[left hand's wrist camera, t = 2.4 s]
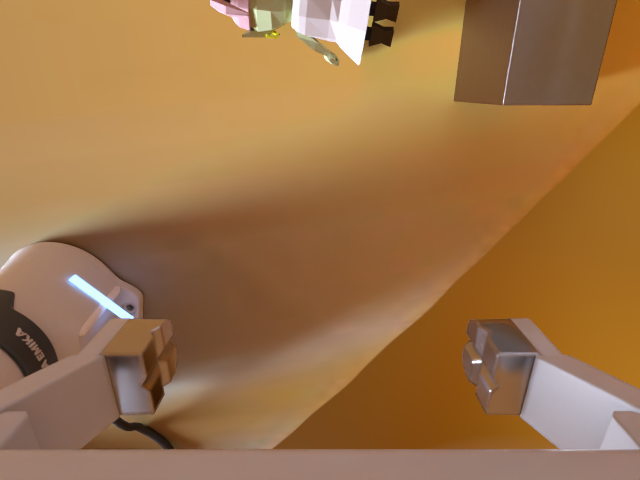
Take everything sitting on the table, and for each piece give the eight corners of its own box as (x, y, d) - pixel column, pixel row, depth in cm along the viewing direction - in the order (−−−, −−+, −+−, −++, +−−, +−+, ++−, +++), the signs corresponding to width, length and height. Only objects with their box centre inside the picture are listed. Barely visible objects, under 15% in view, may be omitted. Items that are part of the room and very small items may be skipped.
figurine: (405, -44, 31) (227, -72, 31) (412, -31, 26) (197, -65, 26) (381, 64, 37) (232, 41, 37) (383, 93, 32) (208, 66, 32)
